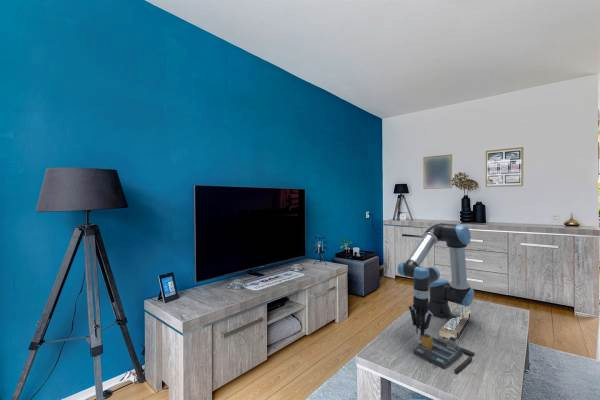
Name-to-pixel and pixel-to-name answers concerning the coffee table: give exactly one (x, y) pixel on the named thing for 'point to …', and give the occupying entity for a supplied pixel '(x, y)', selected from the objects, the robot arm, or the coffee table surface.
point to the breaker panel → (440, 352)
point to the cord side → (462, 364)
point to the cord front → (463, 350)
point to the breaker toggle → (427, 341)
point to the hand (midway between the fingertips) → (420, 339)
